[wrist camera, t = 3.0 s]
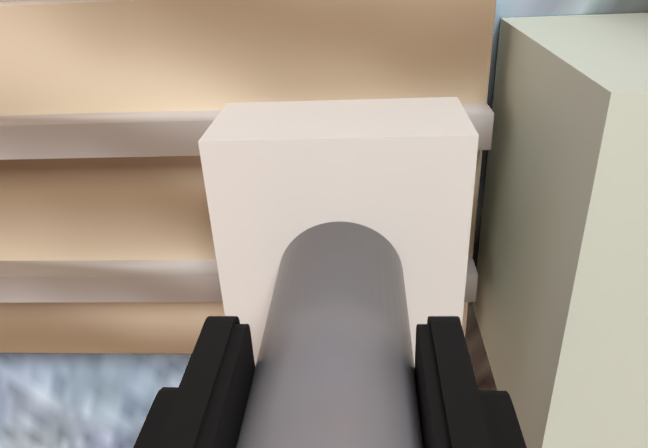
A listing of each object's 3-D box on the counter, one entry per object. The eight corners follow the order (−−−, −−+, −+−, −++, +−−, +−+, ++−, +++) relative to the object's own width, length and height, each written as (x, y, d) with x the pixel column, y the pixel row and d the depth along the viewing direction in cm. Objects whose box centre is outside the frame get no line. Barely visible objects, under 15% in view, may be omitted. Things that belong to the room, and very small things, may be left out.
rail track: (457, 328, 21) (468, 375, 19) (-168, 327, 23) (-224, 369, 21) (486, -20, 16) (506, -11, 13) (-344, 14, 17) (-447, 27, 15)
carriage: (442, 316, 18) (562, 896, 7) (253, 316, 18) (104, 863, 8) (457, 96, 14) (718, 565, 4) (226, 102, 15) (-101, 540, 4)
